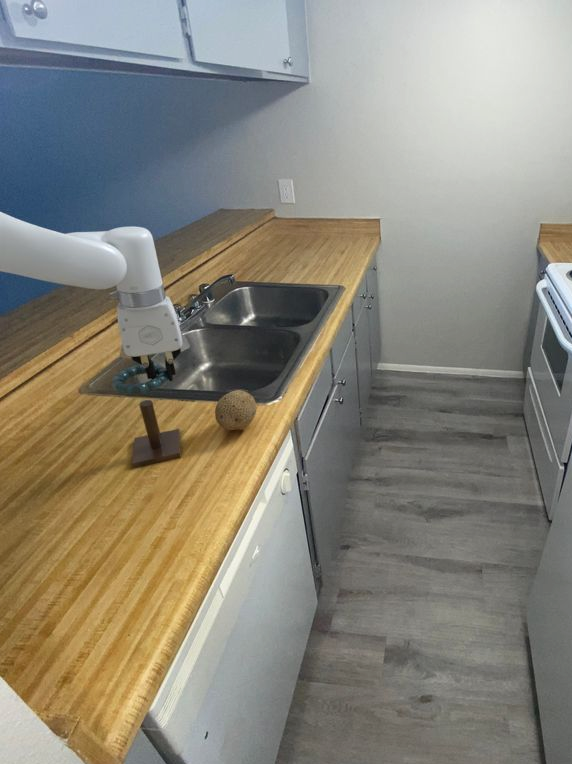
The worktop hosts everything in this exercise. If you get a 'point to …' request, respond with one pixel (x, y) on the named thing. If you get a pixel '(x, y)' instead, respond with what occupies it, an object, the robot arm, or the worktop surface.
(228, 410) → the natural sponge
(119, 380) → the ring
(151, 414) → the post
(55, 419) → the worktop surface
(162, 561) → the worktop surface
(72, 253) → the robot arm
